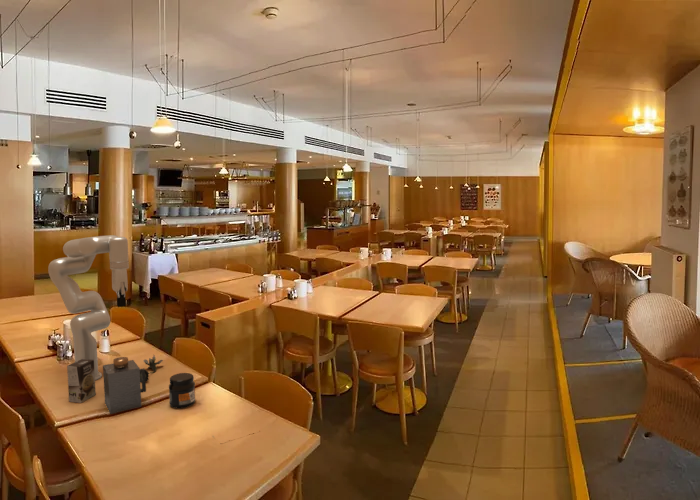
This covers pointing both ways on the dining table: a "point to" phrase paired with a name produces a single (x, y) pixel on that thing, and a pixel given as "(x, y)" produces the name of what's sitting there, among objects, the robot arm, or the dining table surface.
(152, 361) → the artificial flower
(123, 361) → the plunger
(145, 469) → the dining table surface
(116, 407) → the press pot
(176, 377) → the supplement container
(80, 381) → the coffee box
